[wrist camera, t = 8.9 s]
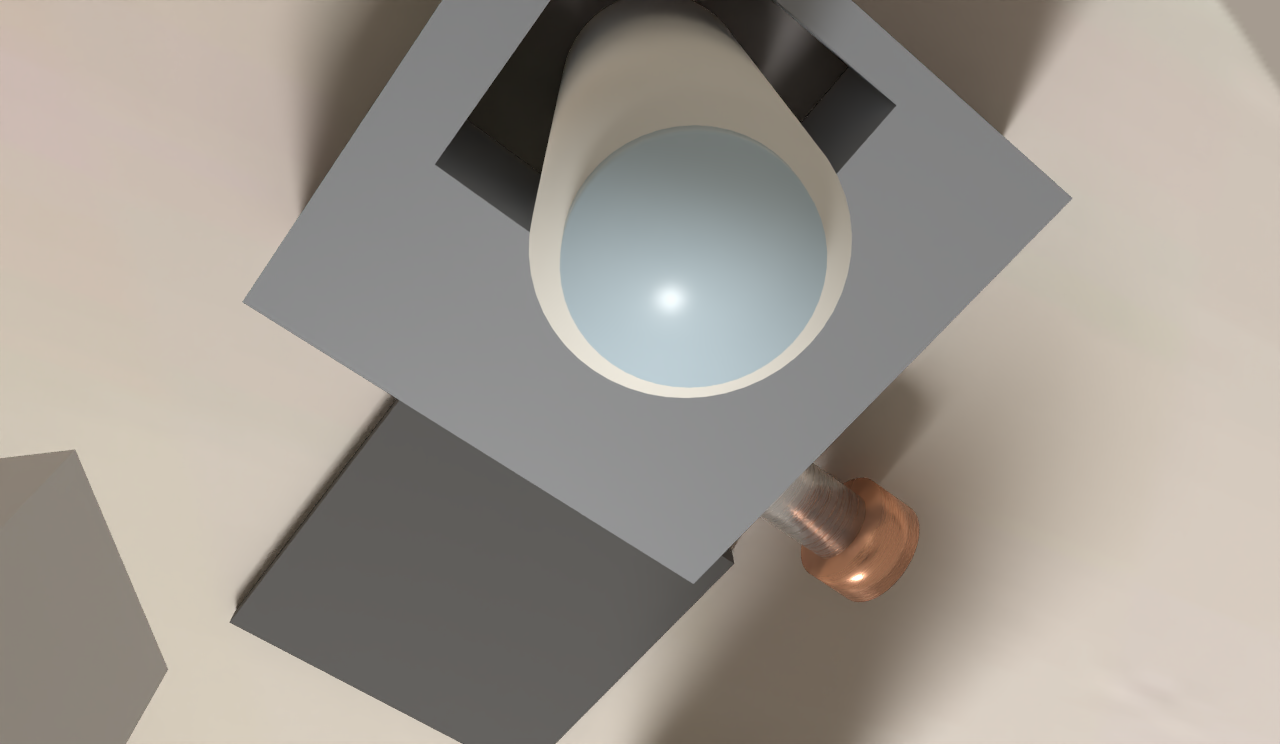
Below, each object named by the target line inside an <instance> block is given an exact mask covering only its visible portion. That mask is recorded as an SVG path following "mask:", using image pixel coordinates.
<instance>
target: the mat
mask: <svg viewBox="0 0 1280 744" xmlns="http://www.w3.org/2000/svg"><path fill="white" fill-rule="evenodd" d="M733 564H734V560H733V555H732V552H730V551H729V550H726V551H725V552H724V553H723V554H722V556H721V557H720V558H719V559H718V560H717V561H716V562H715V563H714V564H713V565H712V566H711V567H710V568H709V569H708V570H707V571H706V572H705V573H704V574H703V575H702V576H701V577H700V578H699V579H698V580H697V581H696V582H695V583H694V584H693V583H691V582H690V581H688V580H686V579H685V578H683V577H682V576H680V575H678V574H677V573H675V572H674V571H672V570H670V569H669V568H667V567H666V566H664V565H662V564H661V563H659V562H658V561H656V560H654V559H653V558H651V557H650V556H648V555H646V554H645V553H643V552H642V551H640V550H638V549H637V548H635V547H634V546H632V545H630V544H629V543H627V542H626V541H624V540H622V539H621V538H619V537H618V536H616V535H614V534H613V533H611V532H610V531H608V530H606V529H605V528H603V527H602V526H600V525H598V524H597V523H595V522H594V521H592V520H590V519H589V518H587V517H586V516H584V515H582V514H581V513H579V512H578V511H576V510H574V509H573V508H571V507H570V506H568V505H566V504H565V503H563V502H562V501H560V500H558V499H557V498H555V497H554V496H552V495H550V494H549V493H547V492H546V491H544V490H542V489H541V488H539V487H538V486H536V485H534V484H533V483H531V482H530V481H528V480H526V479H525V478H523V477H522V476H520V475H518V474H517V473H515V472H514V471H512V470H510V469H509V468H507V467H506V466H504V465H502V464H501V463H499V462H498V461H496V460H494V459H493V458H491V457H490V456H488V455H486V454H485V453H483V452H482V451H480V450H478V449H477V448H475V447H474V446H472V445H470V444H469V443H467V442H466V441H464V440H462V439H461V438H459V437H458V436H456V435H454V434H453V433H451V432H450V431H448V430H446V429H445V428H443V427H442V426H440V425H438V424H437V423H435V422H434V421H432V420H430V419H429V418H427V417H426V416H424V415H422V414H421V413H419V412H418V411H416V410H414V409H413V408H411V407H410V406H408V405H406V404H405V403H403V402H402V401H400V400H398V399H397V400H396V401H395V402H394V404H393V405H392V406H391V407H390V409H389V410H388V411H387V413H386V414H385V415H384V417H383V418H382V419H381V421H380V422H379V423H378V425H377V426H376V427H375V428H374V430H373V431H372V432H371V434H370V435H369V436H368V438H367V439H366V440H365V442H364V443H363V444H362V446H361V447H360V448H359V449H358V451H357V452H356V453H355V455H354V456H353V457H352V459H351V460H350V461H349V463H348V464H347V465H346V466H345V468H344V469H343V470H342V472H341V473H340V474H339V476H338V477H337V478H336V480H335V481H334V482H333V484H332V485H331V486H330V487H329V489H328V490H327V491H326V493H325V494H324V495H323V497H322V498H321V499H320V501H319V502H318V503H317V505H316V506H315V507H314V508H313V510H312V511H311V512H310V514H309V515H308V516H307V518H306V519H305V520H304V522H303V523H302V524H301V526H300V527H299V528H298V529H297V531H296V532H295V533H294V535H293V536H292V537H291V539H290V540H289V541H288V543H287V544H286V545H285V547H284V548H283V549H282V550H281V552H280V553H279V554H278V556H277V557H276V558H275V560H274V561H273V562H272V564H271V565H270V566H269V567H268V569H267V570H266V571H265V573H264V574H263V575H262V577H261V578H260V579H259V581H258V582H257V583H256V585H255V586H254V587H253V588H252V590H251V591H250V592H249V594H248V595H247V596H246V598H245V599H244V600H243V602H242V603H241V604H240V606H239V607H238V608H237V609H236V611H235V613H234V615H233V617H232V619H231V621H230V623H232V624H234V625H236V626H237V627H239V628H241V629H243V630H245V631H247V632H249V633H251V634H253V635H255V636H257V637H259V638H260V639H262V640H264V641H266V642H268V643H270V644H272V645H274V646H276V647H278V648H280V649H282V650H284V651H285V652H287V653H289V654H291V655H293V656H295V657H297V658H299V659H301V660H303V661H305V662H307V663H309V664H310V665H312V666H314V667H316V668H318V669H320V670H322V671H324V672H326V673H328V674H330V675H332V676H334V677H335V678H337V679H339V680H341V681H343V682H345V683H347V684H349V685H351V686H353V687H355V688H357V689H358V690H360V691H362V692H364V693H366V694H368V695H370V696H372V697H374V698H376V699H378V700H380V701H382V702H383V703H385V704H387V705H389V706H391V707H393V708H395V709H397V710H399V711H401V712H403V713H405V714H407V715H408V716H410V717H412V718H414V719H416V720H418V721H420V722H422V723H424V724H426V725H428V726H430V727H431V728H433V729H435V730H437V731H439V732H441V733H443V734H445V735H447V736H449V737H451V738H453V739H455V740H456V741H458V742H460V743H462V744H556V743H557V742H558V741H559V740H560V739H561V738H562V737H563V736H564V734H565V733H566V732H567V731H568V730H569V729H570V728H571V727H572V726H573V725H574V724H575V723H576V722H577V721H578V720H579V719H580V718H581V717H582V716H583V715H584V714H585V713H586V712H587V711H588V710H589V709H590V708H591V707H592V706H593V705H594V704H595V703H596V702H597V701H598V700H599V699H600V698H601V697H602V696H603V695H604V694H605V693H606V692H607V691H608V690H609V689H610V688H611V687H612V686H613V685H614V684H615V683H616V682H617V681H618V680H619V679H620V678H621V677H622V676H623V675H624V674H625V673H626V672H627V671H628V670H629V669H630V668H631V667H632V666H633V665H634V664H635V663H636V662H637V661H638V660H639V659H640V658H641V657H642V656H643V655H644V654H645V653H646V652H647V651H648V650H649V649H650V648H651V647H652V646H653V645H654V644H655V643H656V642H657V641H658V640H659V639H660V638H661V637H662V636H663V635H664V634H665V633H666V632H667V631H668V630H669V629H670V628H671V627H672V626H673V625H674V624H675V623H676V622H677V621H678V620H679V619H680V618H681V617H682V616H683V615H684V614H685V613H686V612H687V611H688V610H689V609H690V608H691V607H692V606H693V605H694V604H695V603H696V602H697V601H698V600H699V599H700V598H701V597H702V596H703V595H704V593H705V592H706V591H707V590H708V589H709V588H710V587H711V586H712V585H713V584H714V583H715V582H716V581H717V580H718V579H719V578H720V577H721V576H722V575H723V574H724V573H725V572H726V571H727V570H728V569H729V568H730V567H731V566H732V565H733Z"/></svg>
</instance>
